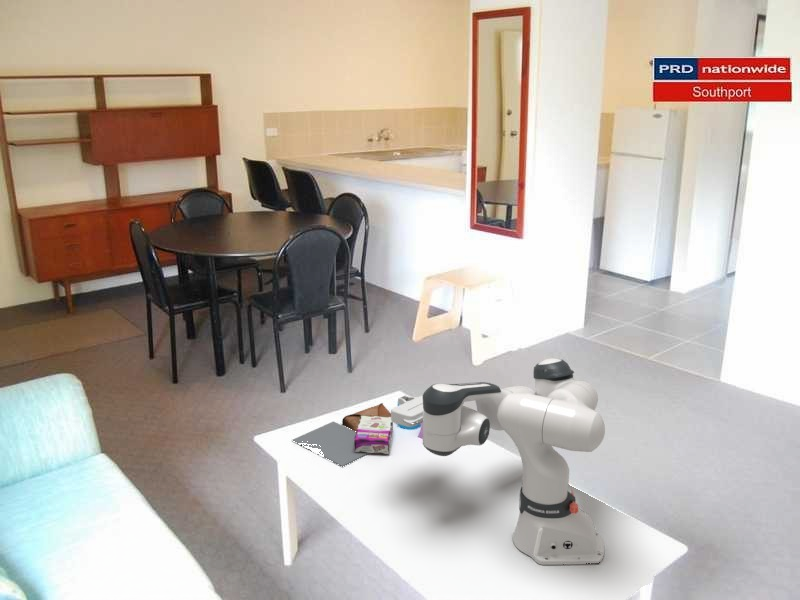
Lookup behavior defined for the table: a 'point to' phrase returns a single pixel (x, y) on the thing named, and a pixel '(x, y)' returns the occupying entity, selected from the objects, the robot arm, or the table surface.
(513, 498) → the table surface
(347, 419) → the sunglasses case
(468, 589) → the table surface
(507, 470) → the table surface
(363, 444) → the candy bar box
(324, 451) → the mat
